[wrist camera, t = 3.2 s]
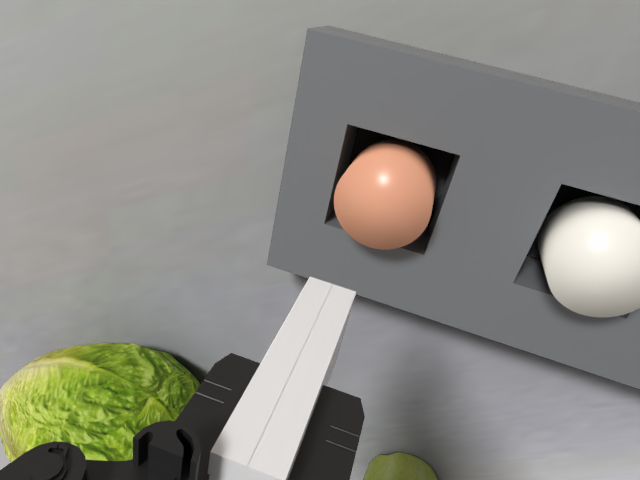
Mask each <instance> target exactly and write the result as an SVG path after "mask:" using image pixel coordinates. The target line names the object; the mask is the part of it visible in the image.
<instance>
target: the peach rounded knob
mask: <svg viewBox="0 0 640 480" xmlns="http://www.w3.org/2000/svg"><path fill="white" fill-rule="evenodd" d="M435 190H436V173H435V170H434V167H433V165H432V162H431V161H430V159H429V158H428V156H427V155H426V154H425V153H424V152H423V151H422V150H421V149H420V148H418V147H417V146H415V145H413V144H411V143H409V142H406V141H403V140H398V139H386V140H381V141H377V142H375V143H373V144H370V145H369V146H367V147H366V148H364V149H363V150H362V151H361V152H360V153H359V154H358V155H357V157H356V158H355V159H354V161H353V162H352V163H351V165H350V166H349V167H348V169H347V170H346V171H345V173H344V174H343V175H342V177H341V178H340V180H339V182H338V184H337V186H336V190H335V194H334V209H335V213H336V216H337V219H338V221H339V223H340V225H341V226H342V228H343V229H344V230H345V232H346V233H347V234H348V235H349V236H350V237H352V238H353V239H354V240H356V241H357V242H359V243H361V244H363V245H365V246H367V247H370V248H374V249H381V250H389V249H396V248H400V247H403V246H406V245H408V244H410V243H411V242H413V241H414V240H416V239H417V238H418V237H419V236H420V235H421V234H422V233H423V231H424V230H425V228H426V227H427V225H428V223H429V220H430V217H431V213H432V207H433V202H434V196H435Z"/></svg>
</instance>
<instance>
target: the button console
mask: <svg viewBox="0 0 640 480" xmlns="http://www.w3.org/2000/svg"><path fill="white" fill-rule="evenodd" d="M358 127H360V128H363V129H367V130H371V131H374V132H378V133H381V134H385V135H389V136H392V137H396V138H399V139H403V140H406V141H410V142H414V143H417V144H421V145H424V146H428V147H432V148H435V149H439V150H442V151H446V152H450V153H453V154H455V156H454V159H453V162H452V165H451V168H450V170H449V173H448V176H447V179H446V182H445V184H444V187H443V190H442V193H441V196H440V198H439V201H438V204H437V207H436V210H435V212H434V215H433V218H432V221H431V224H430V226H429V227H428V226H427V227H426V228H425V230H424V231H423V233H422V234H421V235H420V236H419V237H418V238H417V239H416V240H414V241H413V242H411V243H410V244H408V245H406V246H403V247H400V248H396V249H389V250H381V249H374V248H370V247H367V246H365V245H363V244H361V243H359V242H357V241H356V240H354V239H353V238H352V237H350V236H349V235H348V234H347V233H346V232H345V230H344V229H343V228H342V226H341V225H340V223H339V221H338V219H337V216H336V213H335V209H334V194H335V190H336V186H337V184H338V182H339V180H340V178H341V177H342V175H343V174H344V173H345V171H346V170H347V169H348V166H349V162H350V158H351V154H352V150H353V146H354V142H355V137H356V133H357V129H358ZM561 184H564V185H568V186H571V187H575V188H579V189H582V190H586V191H589V192H593V193H597V194H600V195H604V196H607V197H611V198H615V199H618V200H622V201H625V202H629V203H632V204H636V205H640V103H637V102H633V101H629V100H625V99H621V98H617V97H613V96H609V95H605V94H601V93H597V92H593V91H589V90H585V89H581V88H577V87H573V86H569V85H564V84H560V83H556V82H552V81H548V80H544V79H540V78H536V77H532V76H528V75H524V74H520V73H516V72H512V71H508V70H504V69H500V68H496V67H492V66H488V65H484V64H480V63H476V62H472V61H468V60H464V59H460V58H456V57H451V56H447V55H443V54H439V53H435V52H431V51H427V50H423V49H419V48H415V47H411V46H407V45H403V44H399V43H395V42H391V41H387V40H383V39H379V38H375V37H371V36H367V35H363V34H359V33H355V32H351V31H347V30H343V29H339V28H334V27H330V26H325V27H317V28H309V29H308V30H307V36H306V41H305V47H304V53H303V59H302V65H301V70H300V76H299V82H298V88H297V94H296V99H295V105H294V111H293V117H292V123H291V128H290V134H289V140H288V146H287V152H286V157H285V163H284V169H283V175H282V181H281V186H280V192H279V198H278V204H277V210H276V215H275V221H274V227H273V233H272V238H271V244H270V250H269V256H268V262H267V265H269V266H272V267H275V268H278V269H281V270H284V271H287V272H290V273H293V274H296V275H299V276H302V277H305V278H308V279H309V277H313V278H316V279H319V280H322V281H325V282H328V283H331V284H334V285H337V286H340V287H343V288H346V289H350V290H353V291H356V295H359V296H362V297H365V298H368V299H371V300H374V301H377V302H380V303H383V304H386V305H389V306H392V307H395V308H398V309H401V310H404V311H407V312H410V313H413V314H416V315H419V316H422V317H425V318H428V319H431V320H434V321H437V322H440V323H443V324H446V325H449V326H452V327H455V328H458V329H461V330H464V331H467V332H470V333H473V334H476V335H479V336H482V337H485V338H488V339H491V340H494V341H497V342H500V343H503V344H506V345H509V346H512V347H515V348H518V349H521V350H524V351H527V352H530V353H533V354H536V355H539V356H542V357H545V358H548V359H551V360H554V361H557V362H560V363H563V364H566V365H569V366H572V367H575V368H578V369H581V370H584V371H587V372H590V373H593V374H596V375H599V376H602V377H605V378H608V379H611V380H613V381H616V382H619V383H622V384H625V385H628V386H631V387H634V388H637V389H640V308H639V309H637V310H635V311H633V312H630V313H628V314H625V315H620V316H615V317H604V318H601V317H590V316H585V315H581V314H579V313H576V312H573V311H572V310H570V309H568V308H566V307H565V306H563V305H562V304H561V303H560V302H559V301H558V300H557V299H556V298H555V297H554V295H553V294H552V292H551V290H550V288H549V285H548V282H547V278H546V275H545V271H544V268H543V264H542V261H540V260H536V259H533V258H530V257H526V256H527V253H528V251H529V249H530V247H531V245H532V243H533V241H534V239H535V237H536V235H537V233H538V231H539V229H540V227H541V225H542V223H543V221H544V219H545V217H546V215H547V213H548V211H549V209H550V206H551V204H552V202H553V200H554V198H555V196H556V194H557V192H558V190H559V188H560V186H561Z"/></svg>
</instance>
